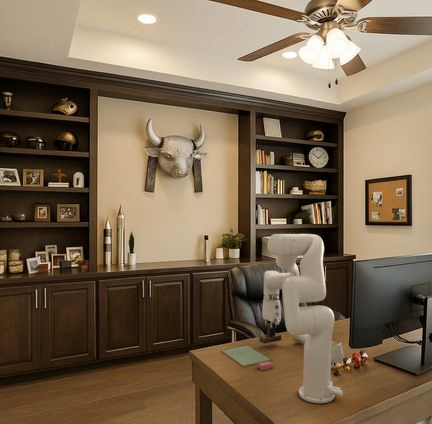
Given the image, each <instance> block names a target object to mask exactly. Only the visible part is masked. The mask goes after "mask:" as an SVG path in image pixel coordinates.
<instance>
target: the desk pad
mask: <svg viewBox="0 0 432 424" xmlns="http://www.w3.org/2000/svg"><path fill="white" fill-rule="evenodd" d="M222 352H223V353H224V354H225V355H227V356H228V357H230V358H231V359H232V360H234V361H235V362H237V363H238V364H240V365H241V366H242V367H245V366H249V365H253V364H258V363H263V362H267V361H270V360H272V359H271V358H269V357H267V356H266V355H264V354H263V353H261V352H259V351H258V350H256V349H254V348H252V347H251V346H250V345H244V346H239V347H234V348H233V347H232V348H229V349H222Z"/></svg>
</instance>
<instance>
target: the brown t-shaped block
mask: <svg viewBox="0 0 432 424" xmlns="http://www.w3.org/2000/svg"><path fill="white" fill-rule="evenodd" d="M270 328H271V327H270V323H267V334H263V335H259V338H258V339H259V342H260V343H261V344H264V345H265V344H271V343H274V342H280V341H282V335H281V334H280V333H278V332H276V335H275V336H271V337H270V336H269V333H270Z"/></svg>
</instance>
